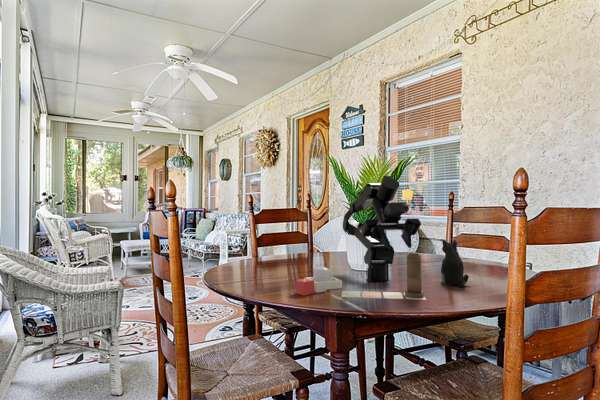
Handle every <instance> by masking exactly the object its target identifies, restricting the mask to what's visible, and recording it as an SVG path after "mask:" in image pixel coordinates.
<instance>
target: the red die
mask: <svg viewBox="0 0 600 400" xmlns="http://www.w3.org/2000/svg"><path fill="white" fill-rule="evenodd" d="M306 278H307V277H304V278H299V279H295V281H294V282H295V283H294V284H295V294H297V295H301V296H303V297H304V296H308V295H313V294H315V292H314V280H310V279H306Z"/></svg>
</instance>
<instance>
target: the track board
mask: <svg viewBox="0 0 600 400" xmlns="http://www.w3.org/2000/svg"><path fill="white" fill-rule="evenodd" d="M361 294H362V295H361ZM361 296H362V299H388V300H389V299H392V300H396V299H397V300H404V299H405V300H419V301H420V300H421V301H422V300H423V301H424V300H425V301H427V299H426V297H425V296H424V297H423V298H410V297H406V296H405V292H403V293H402V292H398V291H397V292H393V291H392V292H391V291H382V292H381V291H366V290H365V291H362V293H361V291H360V290H358V291H357V290H341V295H340V296H339V301H348V300H347V299H345V298H354V299H355V298H359V299H360V298H361Z"/></svg>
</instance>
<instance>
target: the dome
mask: <svg viewBox="0 0 600 400" xmlns="http://www.w3.org/2000/svg"><path fill="white" fill-rule="evenodd" d="M313 277H314V281H316V282H324V281H333V277H334V276H333V274H332V272H331V270H330V269H329V268H328V267H323V266H322V267H319V268H317V269H316V270H315V272H314V276H313Z"/></svg>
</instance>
